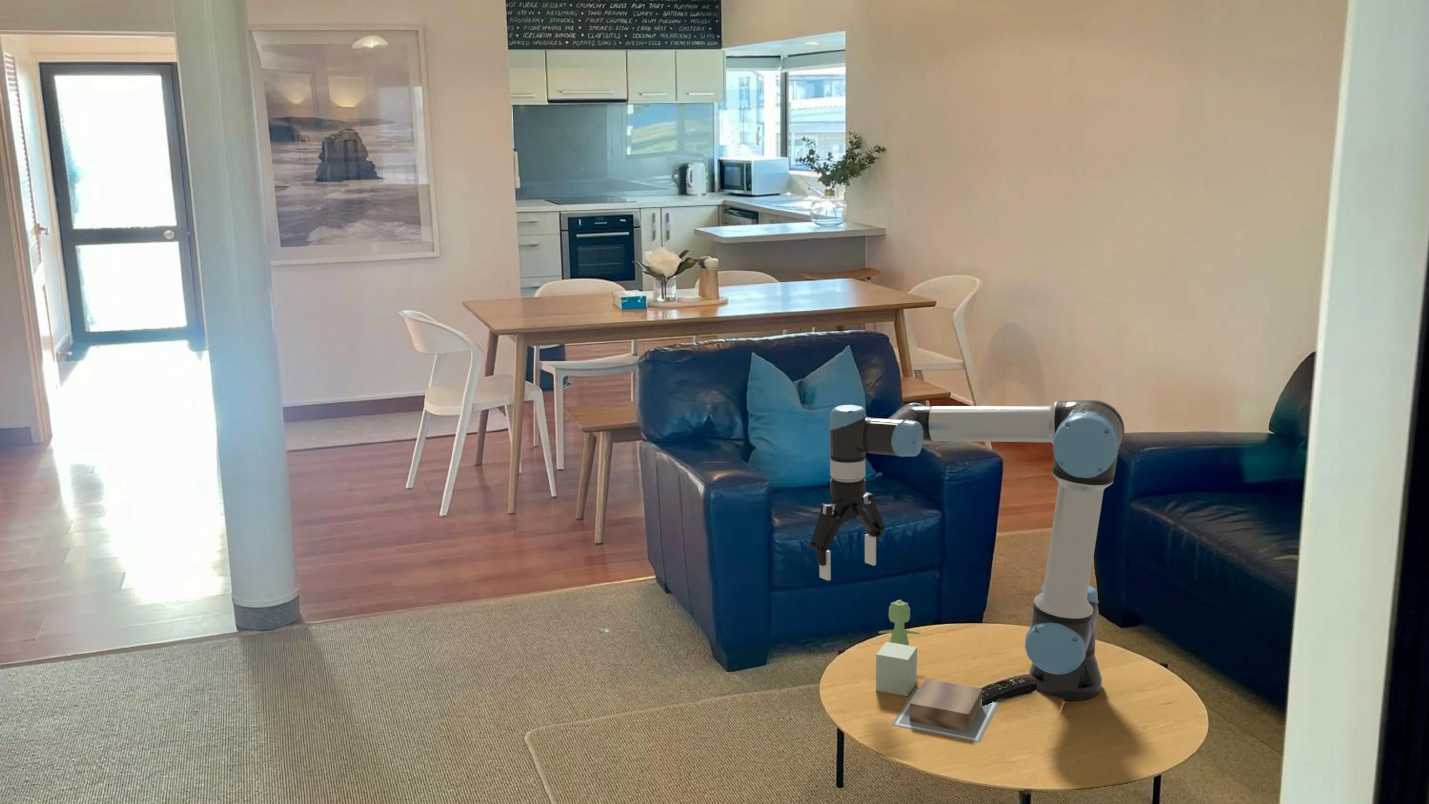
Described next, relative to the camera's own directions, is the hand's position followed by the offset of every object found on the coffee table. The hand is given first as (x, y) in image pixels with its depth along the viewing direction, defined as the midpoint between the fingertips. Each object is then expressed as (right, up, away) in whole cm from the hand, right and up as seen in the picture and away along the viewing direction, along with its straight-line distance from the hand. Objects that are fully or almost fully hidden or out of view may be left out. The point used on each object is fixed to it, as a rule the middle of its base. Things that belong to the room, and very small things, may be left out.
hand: (848, 571), depth 257 cm
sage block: (+10, -25, -1) cm, 27 cm away
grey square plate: (+19, -28, -14) cm, 36 cm away
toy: (+13, -23, +11) cm, 28 cm away
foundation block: (+19, -27, -14) cm, 36 cm away
